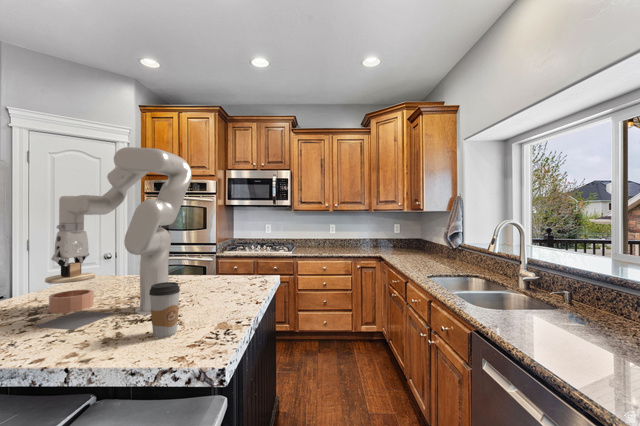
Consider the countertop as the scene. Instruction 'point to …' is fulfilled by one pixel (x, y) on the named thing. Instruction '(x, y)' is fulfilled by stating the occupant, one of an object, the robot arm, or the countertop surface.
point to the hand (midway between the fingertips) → (71, 274)
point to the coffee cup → (164, 308)
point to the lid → (71, 275)
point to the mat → (74, 320)
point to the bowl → (71, 301)
